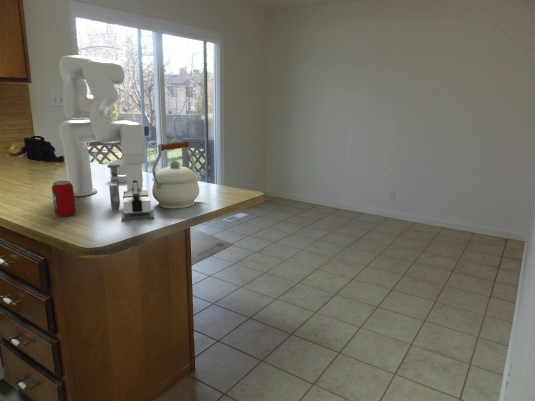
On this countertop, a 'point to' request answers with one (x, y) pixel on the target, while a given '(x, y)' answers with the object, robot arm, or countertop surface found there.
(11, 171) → the countertop surface
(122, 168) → the mug
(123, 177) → the latch
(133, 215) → the mat
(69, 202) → the beverage can
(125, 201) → the cover
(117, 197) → the housing
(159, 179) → the kettle
